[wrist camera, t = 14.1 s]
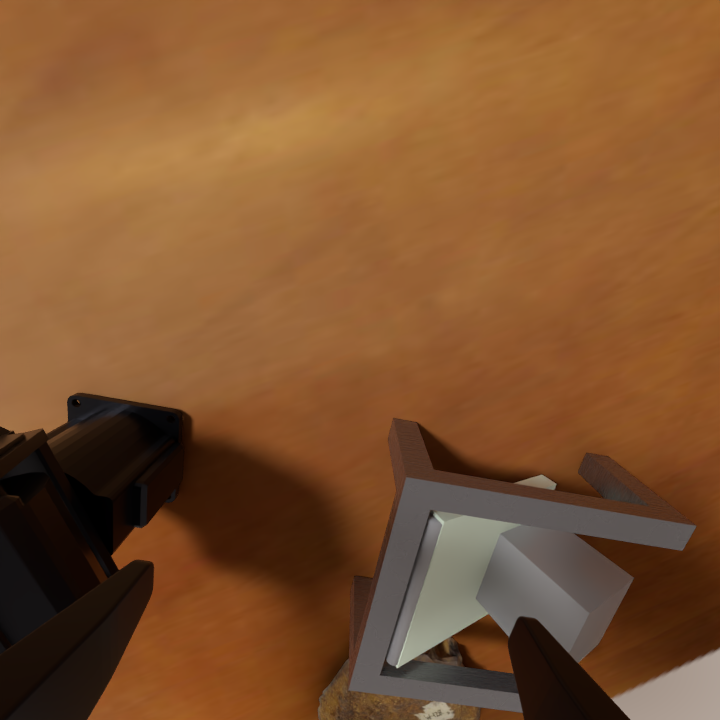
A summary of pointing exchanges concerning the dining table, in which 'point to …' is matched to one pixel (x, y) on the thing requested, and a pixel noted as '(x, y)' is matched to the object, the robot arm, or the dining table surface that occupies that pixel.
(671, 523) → the frame
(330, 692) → the decorative rock
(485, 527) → the trapdoor
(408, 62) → the dining table surface
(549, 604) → the gray cube
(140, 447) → the robot arm
